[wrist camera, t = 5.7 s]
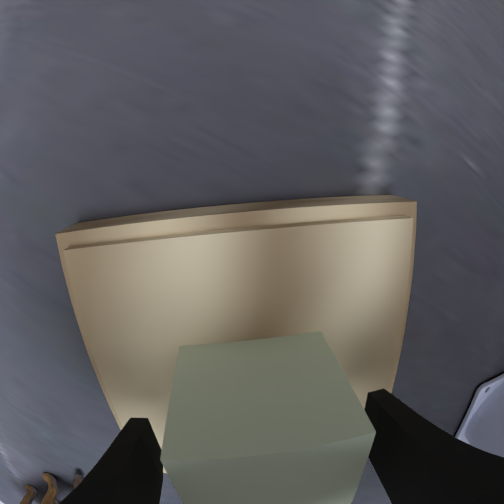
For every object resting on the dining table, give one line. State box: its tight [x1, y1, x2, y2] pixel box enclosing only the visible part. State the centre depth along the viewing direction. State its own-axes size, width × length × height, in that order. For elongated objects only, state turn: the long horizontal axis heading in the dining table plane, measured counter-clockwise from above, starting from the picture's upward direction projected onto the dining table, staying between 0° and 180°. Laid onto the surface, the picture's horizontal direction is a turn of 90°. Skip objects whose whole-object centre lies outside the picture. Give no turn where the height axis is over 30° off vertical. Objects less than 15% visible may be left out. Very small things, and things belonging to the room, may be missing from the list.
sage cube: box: [160, 331, 376, 504], centre depth 9 cm, size 5×5×5 cm
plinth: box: [56, 195, 417, 473], centre depth 12 cm, size 13×13×2 cm
